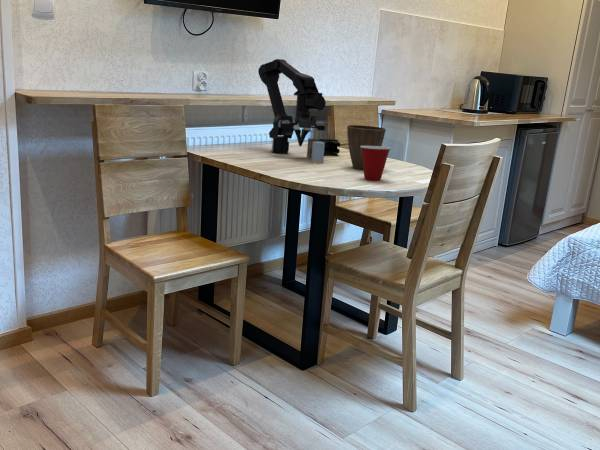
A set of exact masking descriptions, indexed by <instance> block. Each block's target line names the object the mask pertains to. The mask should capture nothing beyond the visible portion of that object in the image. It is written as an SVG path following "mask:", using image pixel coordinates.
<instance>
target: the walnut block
mask: <svg viewBox="0 0 600 450" xmlns="http://www.w3.org/2000/svg"><path fill="white" fill-rule="evenodd" d="M319 139H320V138H311V137H310V138H308V139H307V148H306V149H307V150H306V158H307V159H309V160H311V158H312V145H313V141H315V142H320V140H319Z"/></svg>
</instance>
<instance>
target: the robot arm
mask: <svg viewBox="0 0 600 450" xmlns="http://www.w3.org/2000/svg"><path fill="white" fill-rule="evenodd" d="M257 72H258V75H259V78H260V81H261V82H262V83H263V85H265V86H266V89H267V93H268V97H269V101H270V104H271V107H272V112H273V114H274V118H273V122H272V125H273V126H272V128H271V129H270V131H269V132H268V136H269V138H271V139H272V142H271V143H272V145H271V147H272V148H271V150H270V151H271V153H273V154H289V151H290V142H289V139H292V137H293V135H294V134H295V135H296V139H297V142H298V143H297V144H298V146H299V147H302V145H303V143H304V142H305V139H306V137H307V135H308V134H309V133H310V132H311V133H312V129H316V130H318V131H326V123H325V122H322V121H317V118H318V117H317V116H316V115H311V110H314V111H319V112H320V111H323V110H324V109H325V107H326V104H327V103H326V99H325V97H324V96H323V92H319V89H318V87H317V84H316V82H315V81H316V80H315V77H313V76H310V75H309V74H305V73H302V72H300V71H299V70H297V69H296V68H295V67H294V66H292V65H291V64H290V63H288V62H287V61H286V60H285V59H282V58H281V59H279V58H276V59H274V60H272V61H269V62H266V63H263V64H261V65H260V66H259V67H258V71H257ZM281 74H283V75H284V76H285V77H286V78H287V79H289V80H291V81H292V85H293V86H294V88H295V89H296V91H295V92H294V93H293V96H296V104H295V105H296V106H295V119H293V116H292V115H288V114H287V112H286V110H285V109H286V108H285V106H284V105H285V104H284V102H283V98H282V94H281V91H280V87H279V83H278V82H279V80H280V75H281Z"/></svg>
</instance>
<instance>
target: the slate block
mask: <svg viewBox="0 0 600 450" xmlns="http://www.w3.org/2000/svg"><path fill="white" fill-rule="evenodd" d="M324 146H325V143H323V142H315V141H313V145H312V158H311V159H310V162H312V163H313V164H324V159H325V158H324V157H325V156H324Z"/></svg>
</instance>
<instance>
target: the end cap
mask: <svg viewBox="0 0 600 450" xmlns="http://www.w3.org/2000/svg"><path fill="white" fill-rule="evenodd" d="M318 139H319V140H320V142H323V143H325V146H324V157H339V156H340V151H341V149H339V147H341V142H339V140H338V139H330V138H329V139H326V138H318Z"/></svg>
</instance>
